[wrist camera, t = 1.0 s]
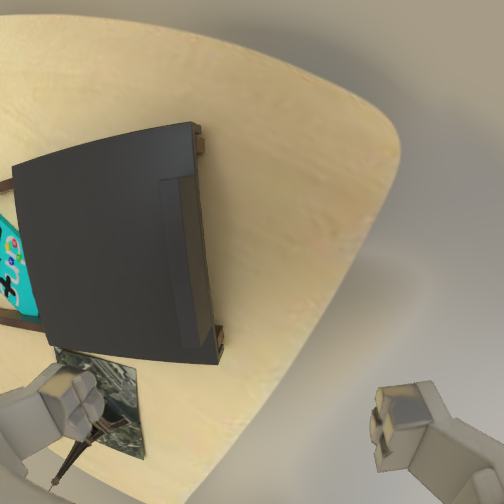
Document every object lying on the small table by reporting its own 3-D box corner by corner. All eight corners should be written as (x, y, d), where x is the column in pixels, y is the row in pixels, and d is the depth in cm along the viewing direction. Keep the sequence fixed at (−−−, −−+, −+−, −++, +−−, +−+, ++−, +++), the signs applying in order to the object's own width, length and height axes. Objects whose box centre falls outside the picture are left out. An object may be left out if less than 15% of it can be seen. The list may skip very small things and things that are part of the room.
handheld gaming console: (33, 328, 26) (-37, 251, 26) (39, 323, 27) (-31, 249, 27) (47, 266, 24) (-28, 190, 24) (53, 262, 25) (-22, 189, 25)
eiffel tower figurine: (55, 341, 28) (-25, 411, 15) (135, 369, 27) (63, 470, 14) (80, 431, 32) (32, 498, 19) (148, 458, 31) (109, 539, 18)
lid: (201, 125, 20) (173, 114, 15) (224, 349, 24) (208, 390, 19) (27, 164, 22) (-14, 169, 17) (61, 335, 26) (31, 361, 21)
